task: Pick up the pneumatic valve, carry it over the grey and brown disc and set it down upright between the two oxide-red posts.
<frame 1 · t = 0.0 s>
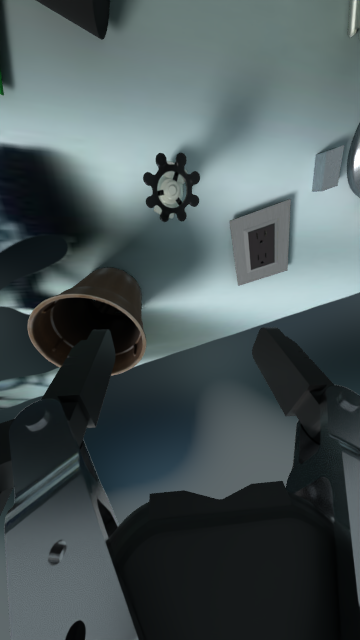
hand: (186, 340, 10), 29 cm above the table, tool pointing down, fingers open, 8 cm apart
plant pot: (115, 293, 39), on the table
electrical outlet: (256, 245, 36), on the table
grey rectangular block: (320, 171, 30), on the table
valve: (169, 192, 30), on the table
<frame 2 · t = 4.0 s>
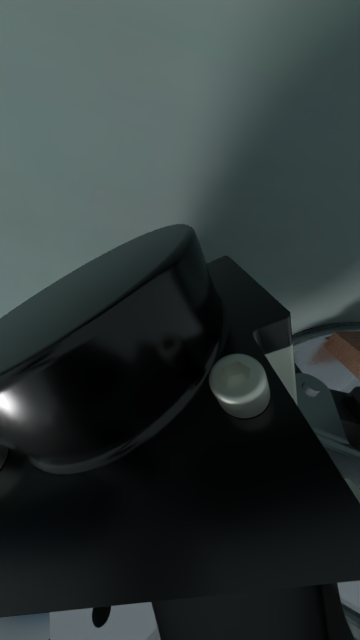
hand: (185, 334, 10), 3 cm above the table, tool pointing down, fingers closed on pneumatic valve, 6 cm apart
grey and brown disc: (304, 384, 19), on the table
pneumatic valve: (184, 304, 13), on the table, touching gripper
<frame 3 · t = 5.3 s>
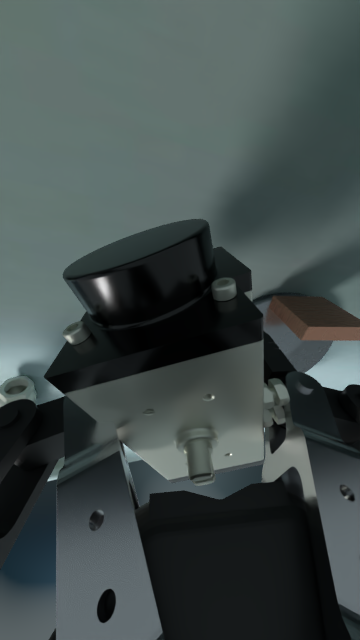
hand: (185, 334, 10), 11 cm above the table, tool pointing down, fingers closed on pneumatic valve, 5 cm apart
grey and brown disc: (266, 344, 26), on the table
pneumatic valve: (179, 292, 15), point 5 cm above the table, touching gripper
valve: (28, 386, 28), on the table
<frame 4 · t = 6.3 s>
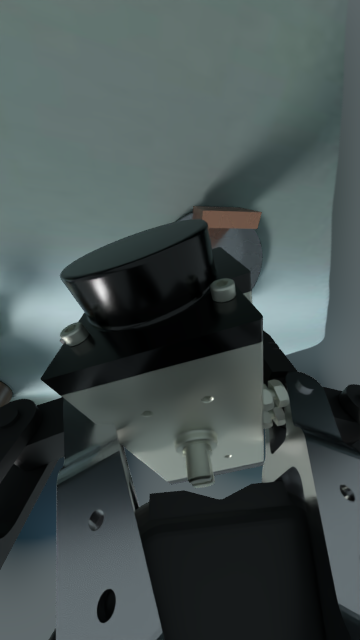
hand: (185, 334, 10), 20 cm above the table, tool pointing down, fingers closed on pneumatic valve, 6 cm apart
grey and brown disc: (205, 270, 28), on the table
pneumatic valve: (178, 292, 15), point 14 cm above the table, touching gripper
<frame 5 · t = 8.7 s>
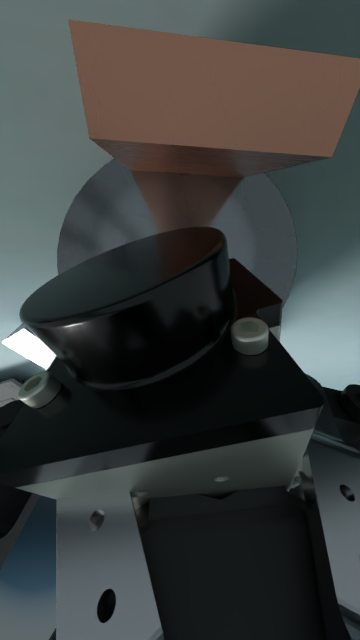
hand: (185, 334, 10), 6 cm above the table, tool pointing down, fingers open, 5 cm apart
electrical outlet: (31, 404, 23), on the table
grey rectangular block: (57, 335, 17), on the table
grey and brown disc: (180, 289, 15), on the table
pneumatic valve: (182, 300, 14), point 1 cm above the table, touching gripper, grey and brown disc
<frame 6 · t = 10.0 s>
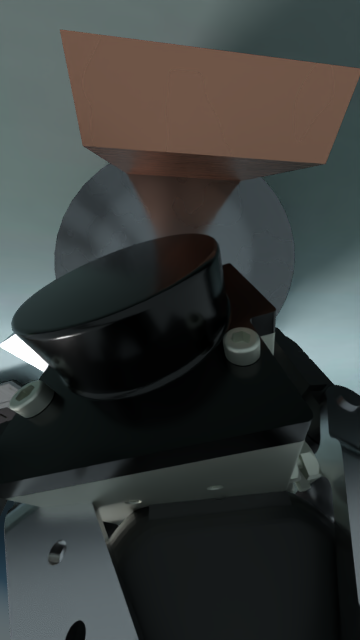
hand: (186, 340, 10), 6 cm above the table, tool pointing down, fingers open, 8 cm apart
electrical outlet: (29, 406, 23), on the table
grey rectangular block: (55, 338, 17), on the table
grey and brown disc: (178, 291, 15), on the table
pneumatic valve: (180, 302, 14), point 1 cm above the table, touching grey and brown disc
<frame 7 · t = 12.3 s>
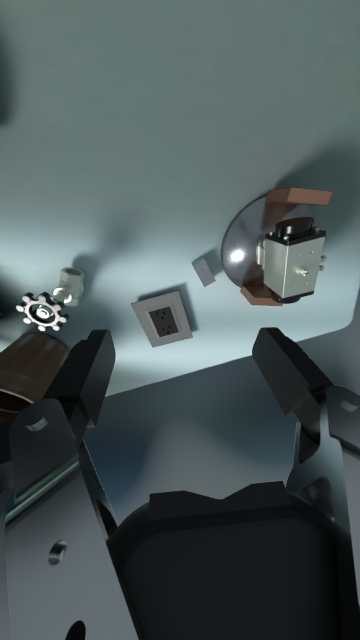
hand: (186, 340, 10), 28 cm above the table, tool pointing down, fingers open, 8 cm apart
plant pot: (46, 350, 45), on the table
electrical outlet: (164, 316, 42), on the table
grey rectangular block: (202, 269, 36), on the table
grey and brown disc: (263, 247, 34), on the table
pneumatic valve: (266, 251, 33), point 1 cm above the table, touching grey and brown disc
valve: (76, 282, 36), on the table
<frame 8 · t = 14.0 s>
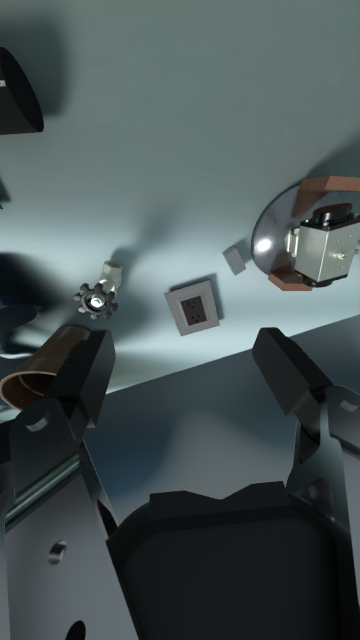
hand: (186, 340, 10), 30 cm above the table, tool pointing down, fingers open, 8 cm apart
plant pot: (80, 342, 48), on the table
electrical outlet: (192, 306, 44), on the table
grey rectangular block: (232, 259, 38), on the table
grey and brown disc: (292, 235, 36), on the table
pneumatic valve: (295, 238, 35), point 1 cm above the table, touching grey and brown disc
valve: (113, 275, 38), on the table
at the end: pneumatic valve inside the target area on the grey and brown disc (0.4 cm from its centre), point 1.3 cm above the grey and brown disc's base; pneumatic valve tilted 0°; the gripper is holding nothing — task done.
